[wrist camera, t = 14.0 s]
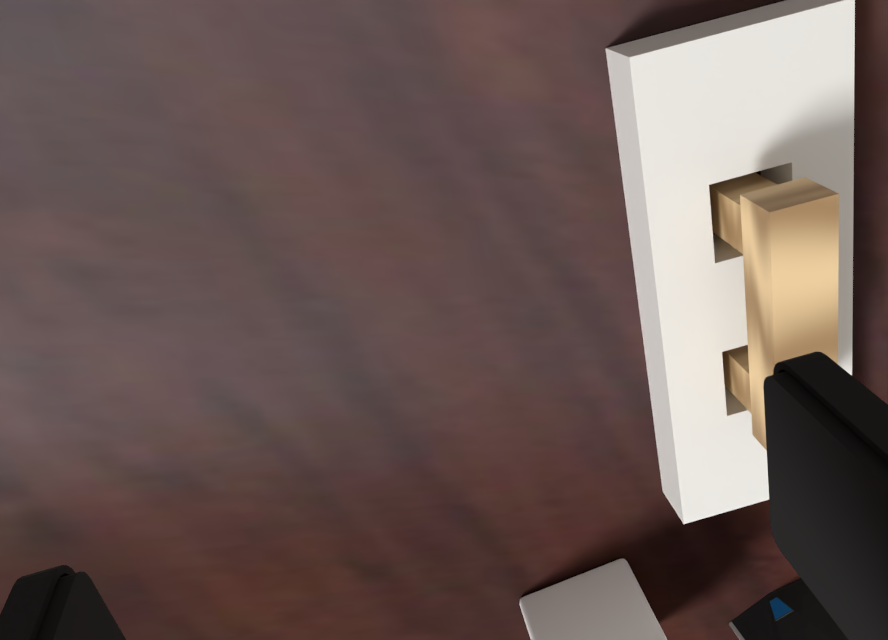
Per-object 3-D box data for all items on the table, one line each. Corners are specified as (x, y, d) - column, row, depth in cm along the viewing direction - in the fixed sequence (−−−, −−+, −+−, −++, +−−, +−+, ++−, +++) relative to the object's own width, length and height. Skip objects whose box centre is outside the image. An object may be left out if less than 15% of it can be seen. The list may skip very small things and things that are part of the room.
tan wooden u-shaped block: (691, 164, 40) (769, 212, 33) (749, 149, 40) (838, 193, 33) (708, 385, 46) (778, 463, 39) (759, 371, 46) (837, 446, 39)
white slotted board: (605, 48, 37) (629, 57, 34) (815, -8, 37) (855, -3, 34) (662, 491, 48) (683, 524, 46) (821, 445, 49) (851, 475, 46)
